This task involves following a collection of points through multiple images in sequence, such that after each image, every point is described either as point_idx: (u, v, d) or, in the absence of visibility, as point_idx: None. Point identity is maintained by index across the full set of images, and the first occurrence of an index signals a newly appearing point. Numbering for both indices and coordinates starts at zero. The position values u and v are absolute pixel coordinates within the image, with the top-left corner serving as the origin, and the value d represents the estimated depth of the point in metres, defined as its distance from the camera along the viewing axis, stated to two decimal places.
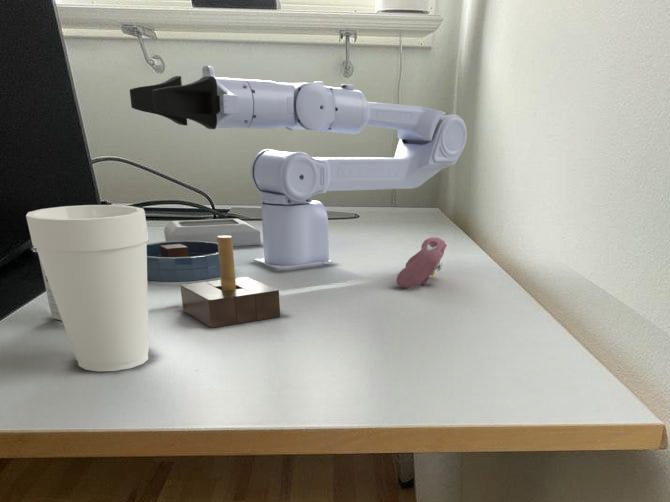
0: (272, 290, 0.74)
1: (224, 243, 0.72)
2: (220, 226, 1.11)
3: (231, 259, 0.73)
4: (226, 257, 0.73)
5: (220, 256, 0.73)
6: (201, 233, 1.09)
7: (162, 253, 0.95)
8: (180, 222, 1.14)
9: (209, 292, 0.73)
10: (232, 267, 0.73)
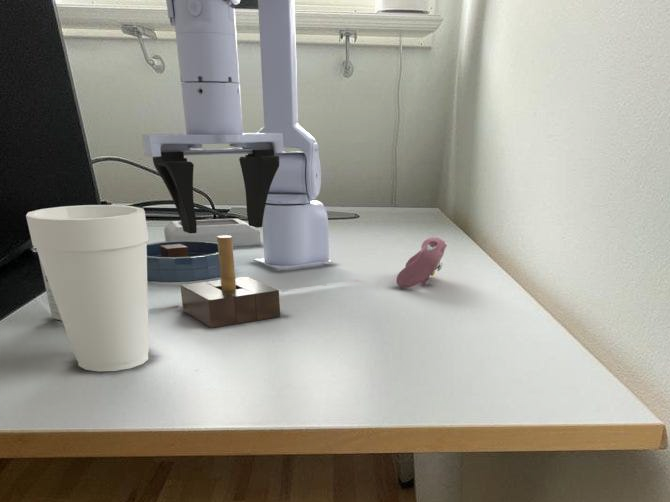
0: (272, 290, 0.74)
1: (224, 243, 0.72)
2: (220, 226, 1.11)
3: (231, 259, 0.73)
4: (226, 257, 0.73)
5: (220, 256, 0.73)
6: (201, 233, 1.09)
7: (162, 253, 0.95)
8: (180, 222, 1.14)
9: (209, 292, 0.73)
10: (232, 267, 0.73)
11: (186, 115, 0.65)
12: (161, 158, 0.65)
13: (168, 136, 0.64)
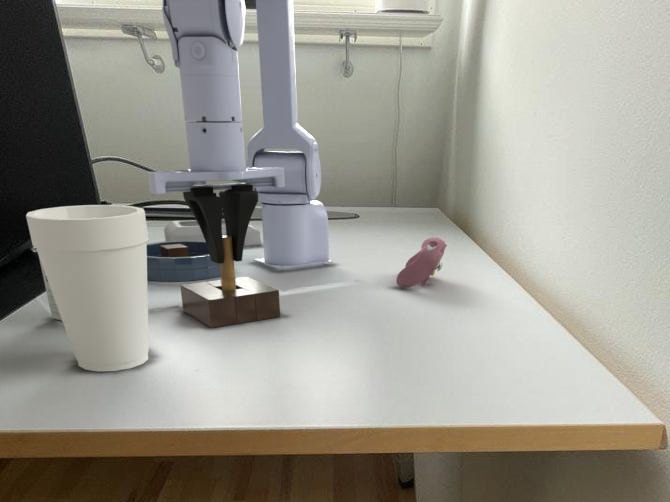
0: (272, 290, 0.74)
1: (224, 243, 0.72)
2: None
3: (231, 259, 0.73)
4: (226, 257, 0.73)
5: None
6: (201, 233, 1.09)
7: (162, 253, 0.95)
8: (180, 222, 1.14)
9: (209, 292, 0.73)
10: (232, 267, 0.73)
11: (190, 153, 0.67)
12: (192, 193, 0.68)
13: (173, 174, 0.65)
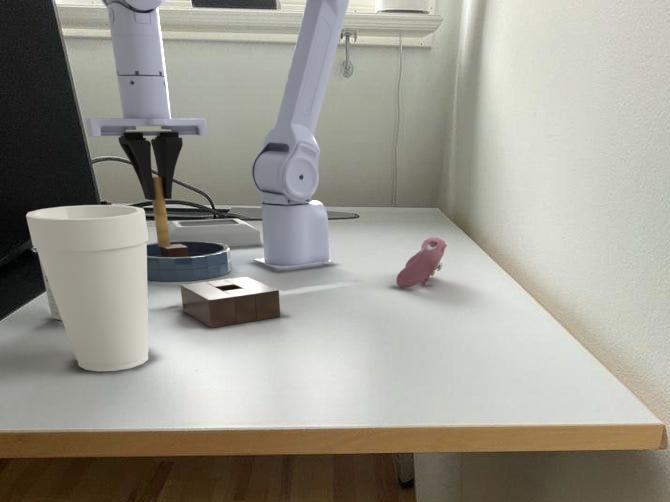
0: (272, 290, 0.74)
1: (155, 183, 0.84)
2: (220, 226, 1.11)
3: (162, 197, 0.86)
4: (157, 195, 0.85)
5: None
6: (201, 233, 1.09)
7: (162, 253, 0.95)
8: (180, 222, 1.14)
9: (209, 292, 0.73)
10: (163, 204, 0.86)
11: (122, 103, 0.79)
12: (124, 137, 0.80)
13: (106, 120, 0.78)
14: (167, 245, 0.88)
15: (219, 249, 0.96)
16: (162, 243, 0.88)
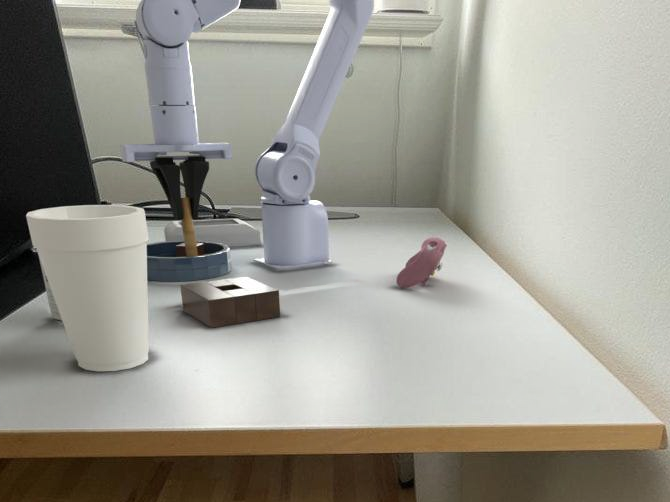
0: (272, 290, 0.74)
1: None
2: (220, 226, 1.11)
3: (188, 216, 0.91)
4: (183, 214, 0.91)
5: None
6: (201, 233, 1.09)
7: (180, 253, 0.95)
8: (180, 222, 1.14)
9: (209, 292, 0.73)
10: (189, 222, 0.91)
11: (154, 130, 0.85)
12: (156, 162, 0.86)
13: (140, 146, 0.84)
14: None
15: (219, 249, 0.96)
16: None
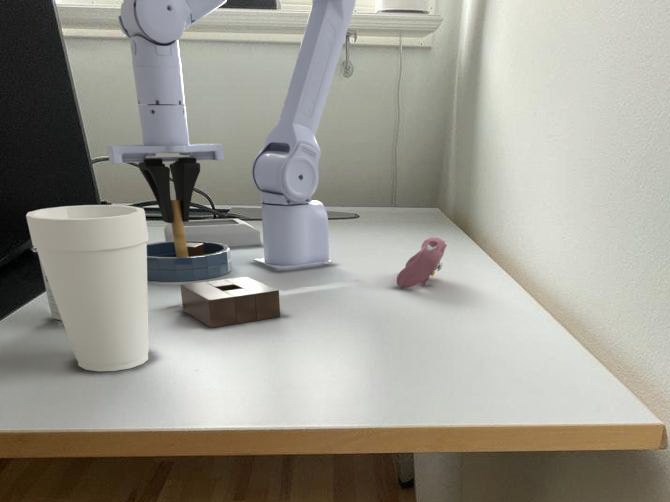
0: (272, 290, 0.74)
1: None
2: (220, 226, 1.11)
3: (178, 219, 0.88)
4: (173, 217, 0.88)
5: None
6: (201, 233, 1.09)
7: None
8: None
9: (209, 292, 0.73)
10: (179, 226, 0.88)
11: (142, 130, 0.82)
12: (144, 164, 0.83)
13: (127, 147, 0.81)
14: None
15: (219, 249, 0.96)
16: None
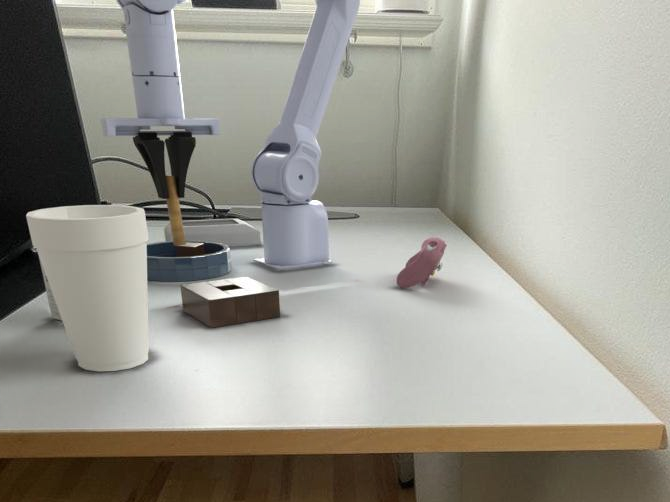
0: (272, 290, 0.74)
1: None
2: (220, 226, 1.11)
3: (173, 195, 0.86)
4: (168, 193, 0.86)
5: None
6: (201, 233, 1.09)
7: (180, 253, 0.95)
8: None
9: (209, 292, 0.73)
10: (175, 202, 0.87)
11: (136, 103, 0.81)
12: (139, 137, 0.82)
13: (121, 119, 0.79)
14: (180, 243, 0.88)
15: (219, 249, 0.96)
16: (175, 241, 0.88)
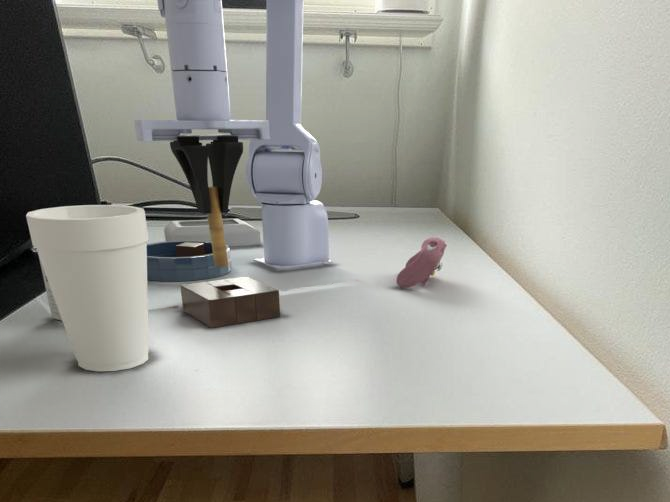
0: (272, 290, 0.74)
1: None
2: None
3: (216, 209, 0.74)
4: (210, 207, 0.74)
5: None
6: (201, 233, 1.09)
7: (180, 253, 0.95)
8: (180, 222, 1.14)
9: (209, 292, 0.73)
10: (217, 217, 0.75)
11: (176, 102, 0.69)
12: (178, 142, 0.70)
13: (159, 122, 0.67)
14: (222, 264, 0.77)
15: None
16: (217, 262, 0.77)
